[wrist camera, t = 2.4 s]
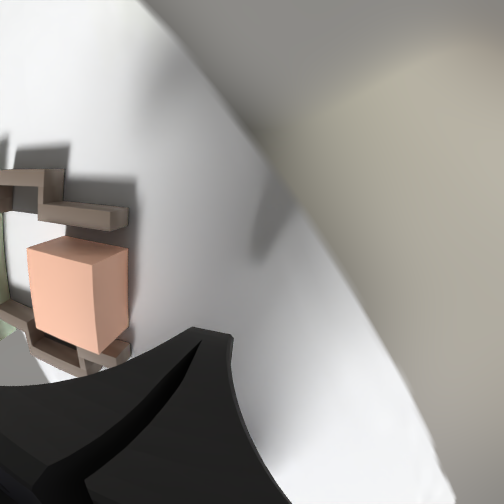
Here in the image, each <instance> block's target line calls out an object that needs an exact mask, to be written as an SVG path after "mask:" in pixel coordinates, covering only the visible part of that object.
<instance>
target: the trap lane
mask: <svg viewBox="0 0 504 504" xmlns="http://www.w3.org/2000/svg"><path fill="white" fill-rule="evenodd" d="M64 171H65V169H9V170H0V341H1V340H2V339H4V338H5V337H7V336H8V335H10V334H11V333H13V332H15V331H16V330H17V329H16V328H18V329H20V330H22V331H24V332H25V334H26V338H27V342H28V346H29V350H30V354H31V355H32V356H34V357H36V358H38V359H40V360H42V361H44V362H46V363H48V364H50V365H52V366H54V367H56V368H58V369H60V370H63V371H65V372H67V373H69V374H71V375H74V376H76V377H78V378H79V377H83V376H87V375H91V374H94V373H97V372H99V371H100V370H101V369H102V366H105V367H107V368H112V367H114V366H117V365H120V364H122V363H124V362H126V361H127V360H128V359H129V358H130V356H131V350H130V343H127V342H124V341H121V340H117V339H115V340H114V341H113V342H112V343H111V344H110V345H109V346H108V347H107V348H105V349H104V350H103V351H102V352H101V353H100V354H99V355H98V354H96V353H93V352H91V351H88V350H85V349H83V348H80V347H78V346H76V345H73V344H71V343H68V342H66V341H64V340H61V339H59V338H57V337H55V336H52V335H50V334H48V333H46V332H44V331H41V330H39V329H37V328H36V323H35V317H34V311H33V309H32V308H30V307H28V306H25V305H23V304H21V303H18V302H16V301H14V300H12V299H10V293H9V287H8V280H7V272H6V264H5V254H4V241H3V219H2V213H4V212H8V211H18V212H26V213H33V214H38V221H44V222H51V223H57V224H63V225H70V226H76V227H82V228H89V229H95V230H102V231H108V232H110V231H114V230H117V229H120V228H123V227H126V226H128V213H129V208H126V207H117V206H108V205H99V204H89V203H80V202H69V201H63V187H64Z"/></svg>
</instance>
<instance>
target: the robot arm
mask: <svg viewBox="0 0 504 504" xmlns="http://www.w3.org/2000/svg"><path fill="white" fill-rule="evenodd" d="M233 340H234V338H233V337H232V336H231V334H226V333H220V332H215V331H210V330H205V329H201V328H196V327H191V328H189V329H187V330H185V331H184V332H182V333H180V334H178V335H177V336H175V337H173V338H172V339H170V340H168V341H166V342H164V343H163V344H161V345H159V346H157V347H155V348H154V349H152V350H150V351H148V352H146V353H144V354H142V355H139V356H137V357H135V358H133V359H131V360H129V361H127V362H124V363H122V364H120V365H117V366H114V367H112V368H109V369H106V370H103V371H100V372H97V373H94V374H91V375H87V376H83V377H79V378H74V379H70V380H65V381H60V382H55V383H48V384H40V385H30V386H0V504H292V503H291V502H290V500H289V499H288V498H287V497H286V495H285V494H284V493H283V491H282V490H281V488H280V487H279V486H278V484H277V483H276V481H275V480H274V478H273V477H272V475H271V474H270V472H269V470H268V469H267V467H266V466H265V464H264V462H263V460H262V458H261V456H260V455H259V453H258V451H257V449H256V447H255V445H254V443H253V441H252V439H251V437H250V435H249V432H248V430H247V427H246V425H245V422H244V420H243V417H242V414H241V411H240V408H239V405H238V402H237V398H236V394H235V389H234V385H233V380H232V372H231V357H232V348H233Z"/></svg>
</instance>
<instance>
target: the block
mask: <svg viewBox="0 0 504 504" xmlns="http://www.w3.org/2000/svg"><path fill="white" fill-rule="evenodd" d="M27 261H28V272H29V282H30V290H31V298H32V305H33V311H34V317H35V323H36V328H37V329H39V330H41V331H44V332H46V333H48V334H50V335H52V336H55V337H57V338H59V339H61V340H64V341H66V342H68V343H71V344H73V345H76V346H78V347H80V348H83V349H85V350H88V351H91V352H93V353H96V354H98V355H99V354H100V353H101V352H102V351H103V350H104V349H105V348H107V347H108V346H109V345H110V344H111V343H112V342H113V341H114V340H115V339H116V338H117V337H118V336H119V335H120V334H121V333H122V332H123V331H124V330H126V329H127V328H128V327H129V319H128V248H124V247H119V246H114V245H109V244H104V243H98V242H94V241H89V240H84V239H79V238H74V237H69V236H62V237H59V238H56V239H53V240H50V241H47V242H43V243H40V244H37V245H34V246H31V247H28V248H27Z"/></svg>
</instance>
